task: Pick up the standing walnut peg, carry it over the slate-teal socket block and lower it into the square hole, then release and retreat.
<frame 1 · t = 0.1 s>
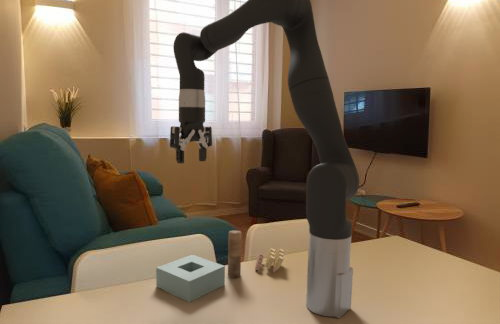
hand: (191, 162, 110), 29 cm above the table, fingers open, 8 cm apart
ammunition: (269, 268, 108), on the table
peg: (234, 275, 102), on the table
socket block: (190, 285, 95), on the table
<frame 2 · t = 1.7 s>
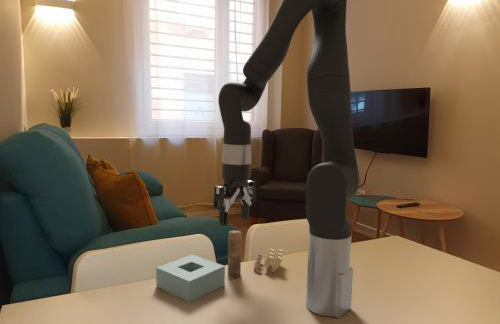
hand: (234, 221, 100), 15 cm above the table, fingers open, 8 cm apart
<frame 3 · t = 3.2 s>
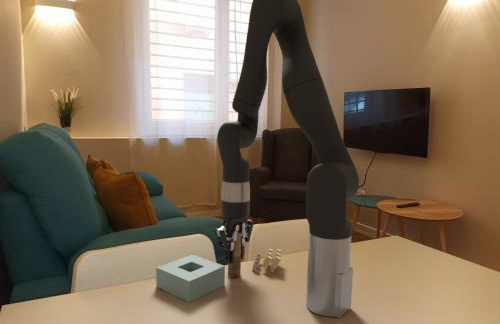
hand: (234, 260, 101), 4 cm above the table, fingers closed on peg, 3 cm apart
peg: (234, 275, 102), on the table, touching gripper
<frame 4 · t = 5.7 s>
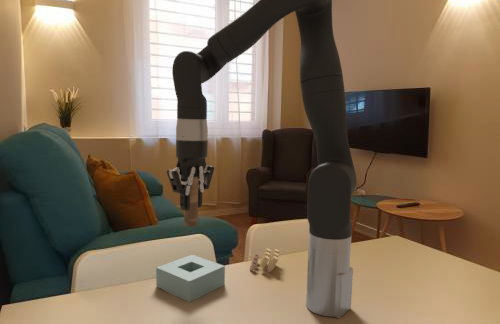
hand: (191, 208, 93), 20 cm above the table, fingers closed on peg, 3 cm apart
peg: (191, 224, 93), point 16 cm above the table, touching gripper
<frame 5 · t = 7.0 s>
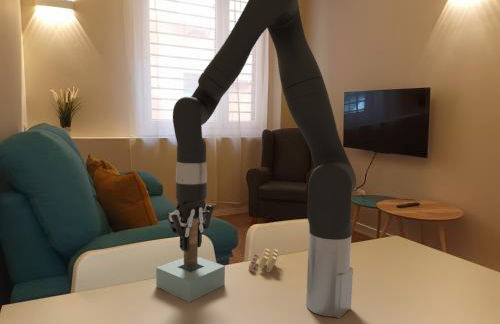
hand: (191, 248, 94), 10 cm above the table, fingers closed on peg, 3 cm apart
peg: (190, 264, 94), point 6 cm above the table, touching gripper
when the fingers open (6 cm above the table, at t = 8.0 s): peg drops 2 cm, resting in socket block.
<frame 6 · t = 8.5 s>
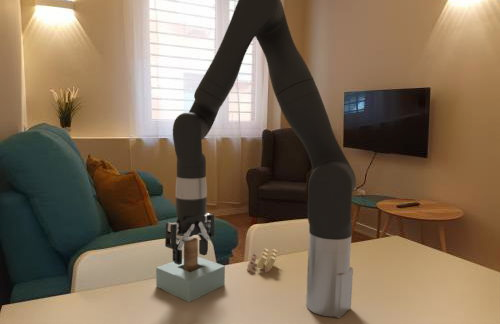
hand: (190, 258, 94), 7 cm above the table, fingers open, 8 cm apart
peg: (190, 285, 95), resting in socket block
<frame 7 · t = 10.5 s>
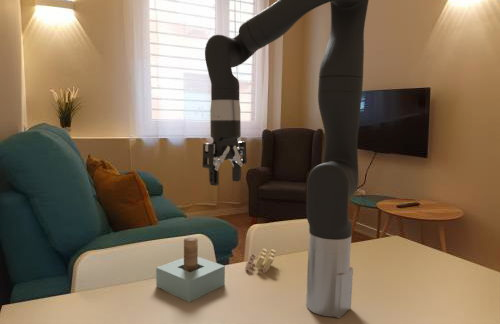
hand: (225, 183, 96), 26 cm above the table, fingers open, 8 cm apart
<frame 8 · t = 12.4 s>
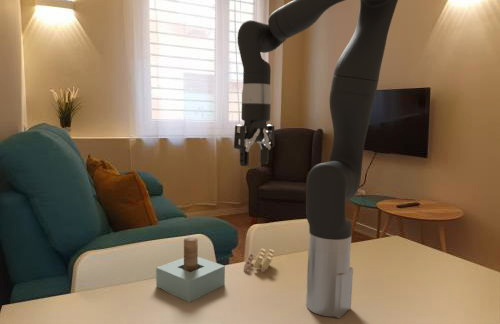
hand: (254, 164, 100), 30 cm above the table, fingers open, 8 cm apart
at the end: peg 0.1 cm off-centre on the socket block, point 0.0 cm above the socket block's base; peg tilted 0°; the gripper is holding nothing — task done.
